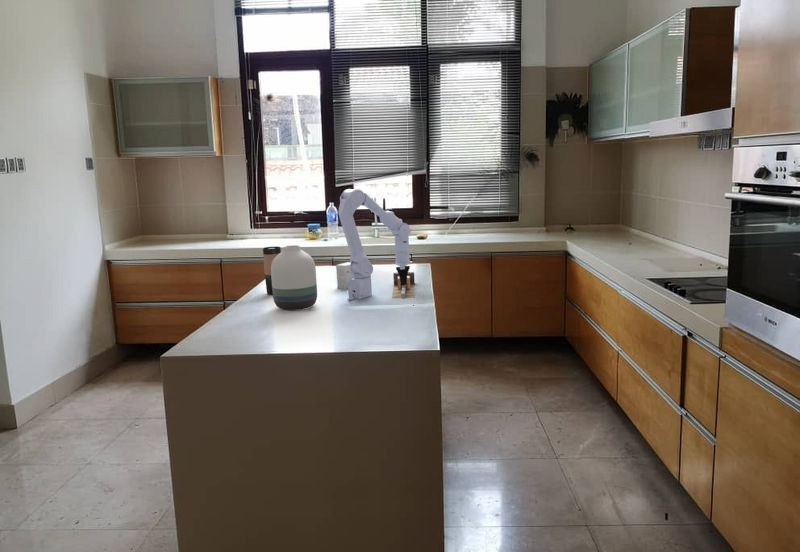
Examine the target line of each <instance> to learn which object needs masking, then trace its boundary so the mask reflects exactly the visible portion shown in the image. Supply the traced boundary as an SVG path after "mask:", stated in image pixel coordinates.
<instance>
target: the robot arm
mask: <svg viewBox="0 0 800 552" xmlns="http://www.w3.org/2000/svg"><path fill="white" fill-rule="evenodd" d="M339 202H340V203H339V208H338V216H339V217H338V218H339V221H340V224H341V227H342V230H343V233H344V236H345V240H346V243H347V246H348V249H349V253H350V257H349V262H351V265H350V269H351V271H352V272H353V279H352V280H350V281H349V283H348V289H347V290H348V297H347V300H348V301H353V300H354V299H358V300H359V299H360V300H361V299H364V298H368V297H371V296H372V295H373V289H372V287H373V286H372V274H373V271H374V266H373V264H372V262H370V260H369V258H368V256H367V255H366V253H365V252H364V248H363V245H362V244H363V243H362V241H361V238H360V235H359V232H358V228H357V225H356V222H355V218H354V214H355V212H356V210H357V209H358V208H359V207H360V206H363V207H366V208H367V209H368V210H369V211H371V212H372V213H374V214H375V215H377V216H378V217H379V221H380V223H382V225H384V226H385V227H386V228H388V229H389V230H390V231H391V234H392V235H394V251H395V265H396V267H395V269H396V273H398V274H399V277H400V282H401V284H406V282H407V274H408V272H410V268H411V266H410V265H411V264H413V261H411V260H410V244H409V242H410V241H409V239H410V238H409V237H410V235H411V232H412V229H411V228H410V226H409V224H408V223H406V222H403V219H402V218H399V217H397V216H396V215H395V212H394V211H390V210H384V209H383V208H382V206H380V204H378V203H377V202H376V201H375V200H373V198H371V196H369V195H368V194H367V193H365V192H363V190H361V189H358V188H354V189H352V188H347V189H345V190H343V192H342V193H341V195H340V197H339Z"/></svg>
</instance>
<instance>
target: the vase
mask: <svg viewBox="0 0 800 552" xmlns="http://www.w3.org/2000/svg"><path fill="white" fill-rule="evenodd" d="M271 278H272V290H273V295H272V298H273V302H274V304H275V305H276V307H277V308H279V309H280V310H283V311H300V310H306V309H309V308H311V307H314V305H315V304H316V302H317V299H318V285H317V283H318V282H317V268H316V264H315V260H314V259H313V257H312V256H311V255H310V254H308V253H307V252H305V251H304V250H303V249H302V248H301V245H295V244H293V245H285V246H283V247H282V251H281V253H280V254H278V255H277V256H276V257H275V258H274V260H273V261H272V265H271Z"/></svg>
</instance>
